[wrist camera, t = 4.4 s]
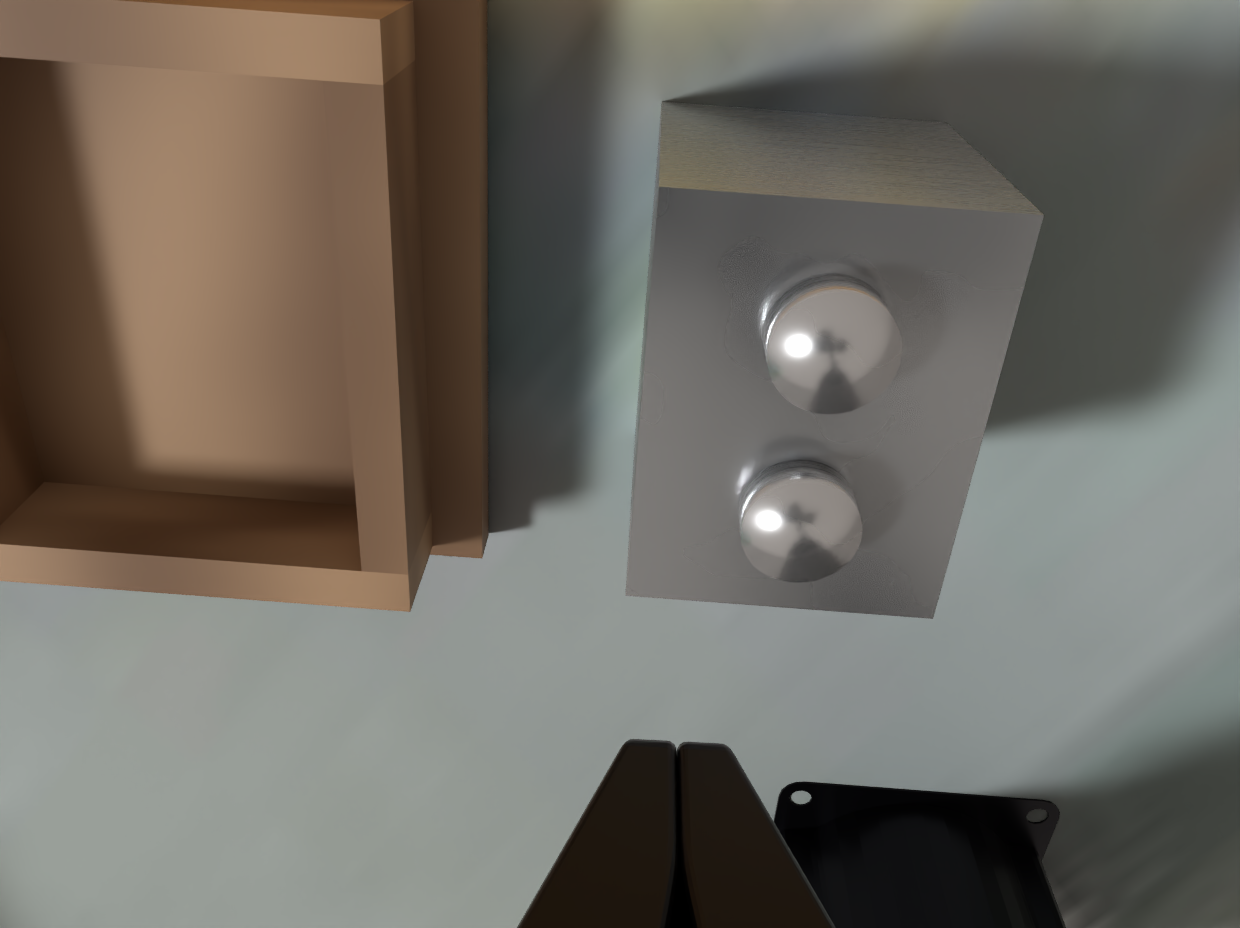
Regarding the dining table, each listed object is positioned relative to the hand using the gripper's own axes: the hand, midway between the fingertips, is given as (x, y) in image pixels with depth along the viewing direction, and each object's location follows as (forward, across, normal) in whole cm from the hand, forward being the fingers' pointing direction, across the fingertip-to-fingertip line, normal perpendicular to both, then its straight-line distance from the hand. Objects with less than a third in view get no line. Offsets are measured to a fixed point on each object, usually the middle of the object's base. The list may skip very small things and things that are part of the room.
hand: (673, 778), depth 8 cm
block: (+11, -2, 0) cm, 11 cm away
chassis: (+11, +11, 0) cm, 16 cm away
